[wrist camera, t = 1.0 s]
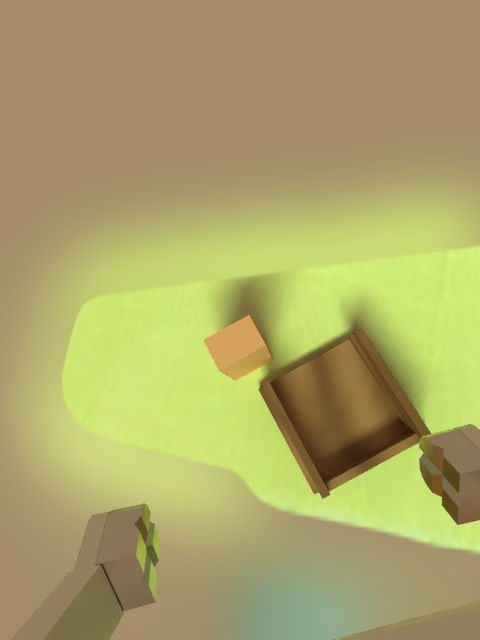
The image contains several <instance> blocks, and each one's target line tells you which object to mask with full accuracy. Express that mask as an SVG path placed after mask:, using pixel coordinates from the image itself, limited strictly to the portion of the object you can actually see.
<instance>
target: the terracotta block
mask: <svg viewBox="0 0 480 640" xmlns="http://www.w3.org/2000/svg"><path fill="white" fill-rule="evenodd" d="M204 342H205V344H206V346H207V348H208V350H209V352H210V354H211V356H212V358H213V360H214V362H215V363H216V365H217V367H218V369H219V371H220V372H222V373H223V374H225V375H227V376H228V377H230V378H231V379H233V380H235V381H236V380H237V379H239V378H241V377H243V376H245V375H247V374H248V373H250V372H252V371H254V370H256V369H257V368H259V367H261V366H263V365H265V364H267V363H268V362H270V361H272V360H273V359H272V357H271V355H270V353H269V350H268V348H267V346H266V344H265V342H264V340H263V339H262V337H261V335H260V333H259V331H258V330H257V328H256V326H255V324H254V323H253V321H252V319H251V317H250V315H248V316H246V317H244V318H242V319H241V320H239V321H237V322H235V323H233V324H232V325H230V326H228V327H226V328H224V329H222V330H221V331H219V332H217V333H215V334H213V335H212V336H210V337H208V338H206V339H204Z"/></svg>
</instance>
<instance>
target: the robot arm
mask: <svg viewBox="0 0 480 640" xmlns="http://www.w3.org/2000/svg"><path fill="white" fill-rule="evenodd" d="M419 448H420V449H421V450H422V451H423V452H424V453H423V455H422V456H421V458H420V459H419V462H420V471H421V474H422V477H423V479H424V481H425V483H426V485H427V486H428V487H429V489H430V490H431V491H432V493H435V494H437V495H439V496H441V497H442V506H443V507H444V508H445V510H446V511H447V512H448V513H449V515H450V516H451V517H452V519H453V520H454V521H455V522H456V524H457V525H460V524H464V523H469V522H473V521H478V520H480V430H479V429H478V428H477V427H476V426H474V425H471V424H469V425H465V426H461V427H457V428H454V429H449V430H445V431H441V432H437V433H433V434H429V435H425V436H422V437H421V438H420V441H419ZM158 561H159V538H158V534H157V530H156V527H155V524H154V523H152V522H150V511H149V508H148V506H147V504H140V505H136V506H131V507H126V508H122V509H117V510H112V511H110V512H105V513H100V514H96V515H92V516H91V518H90V519H89V521H88V524H87V528H86V532H85V535H84V538H83V542H82V546H81V549H80V552H79V555H78V559H77V563H76V566H75V569H74V571H73V572H69V573H68V574H67V575H66V576H65V577H64V578H63V580H62V581H61V582H60V583H59V584H58V586H57V587H56V588H55V589H54V590H53V591H52V593H51V594H50V595H49V596H48V597H47V598H46V600H45V601H44V602H43V603H42V604H41V606H40V607H39V608H38V609H37V610H36V611H35V613H34V614H33V615H32V616H31V617H30V619H29V620H28V621H27V622H26V623H25V624H24V625H23V627H22V628H21V629H20V630H19V631H18V633H17V634H16V635H15V636H14V637H13V639H12V640H109V639H110V637H111V636H112V634H113V632H114V630H115V628H116V627H117V625H118V623H119V621H120V619H121V618H122V616H123V614H124V613H123V611H127V610H130V609H134V608H137V607H141V606H144V605H148V604H151V603H154V602H156V590H157V578H158V576H157V574H156V571H155V569H154V567H155V566H156V564H157V563H158ZM334 640H480V600H479V601H476V602H472V603H468V604H465V605H461V606H457V607H453V608H450V609H446V610H442V611H439V612H435V613H432V614H427V615H424V616H420V617H416V618H413V619H409V620H405V621H402V622H398V623H394V624H390V625H387V626H383V627H379V628H375V629H372V630H368V631H364V632H361V633H357V634H353V635H349V636H346V637H342V638H338V639H334Z"/></svg>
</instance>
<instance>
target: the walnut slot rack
mask: <svg viewBox="0 0 480 640" xmlns="http://www.w3.org/2000/svg"><path fill="white" fill-rule="evenodd" d="M261 385H262V388H260V389H259V391H260V393H261V395H262V397H263V399H264V401H265V403H266V404H267V406H268V408H269V410H270V412H271V414H272V416H273V418H274V419H275V421H276V423H277V425H278V427H279V429H280V431H281V433H282V434H283V436H284V438H285V440H286V442H287V444H288V446H289V448H290V450H291V451H292V453H293V455H294V457H295V459H296V461H297V463H298V465H299V466H300V468H301V470H302V472H303V474H304V476H305V478H306V480H307V481H308V483H309V485H310V487H311V489H312V491H313V493H314V494H316V493H318V492H319V493H320V495H321V497H322V499H323V498H325V497H327V496H329V495H330V493H329V491H331V490H333V489H335V488H336V487H338V486H340V485H342V484H344V483H346V482H347V481H349V480H351V479H353V478H355V477H357V476H358V475H360V474H362V473H364V472H366V471H368V470H369V469H371V468H373V467H375V466H377V465H378V464H380V463H382V462H384V461H386V460H388V459H389V458H391V457H393V456H395V455H397V454H399V453H400V452H402V451H404V450H406V449H408V448H410V447H411V446H413V445H415V444H417V443H419V441H420V438H421V437H422V436H425V435H429V434H431V433H430V431H429V430H428V428H427V426H426V425H425V423H424V422H423V420H422V419H421V417H420V416H419V414H418V413H417V411H416V410H415V408H414V407H413V405H412V404H411V402H410V401H409V399H408V398H407V396H406V395H405V393H404V392H403V390H402V389H401V387H400V385H399V384H398V382H397V381H396V379H395V378H394V376H393V375H392V373H391V372H390V370H389V369H388V367H387V366H386V364H385V363H384V361H383V360H382V358H381V357H380V355H379V354H378V352H377V351H376V349H375V347H374V346H373V344H372V343H371V341H370V340H369V338H368V337H367V335H366V334H365V332H364V331H363V329H362V328H359V329H357V330H355V331H354V332H353V334H352V336H351V337H350V339H349V340H347V341H345V342H343V343H342V344H340V345H338V346H336V347H334V348H333V349H331V350H329V351H327V352H325V353H323V354H322V355H320V356H318V357H316V358H314V359H313V360H311V361H309V362H307V363H305V364H303V365H302V366H300V367H298V368H296V369H294V370H293V371H291V372H289V373H287V374H285V375H284V376H282V377H280V378H278V379H276V380H274V381H273V382H271V383H270V382H269V380H268V379H266V380H264V381H263V382H261Z"/></svg>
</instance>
